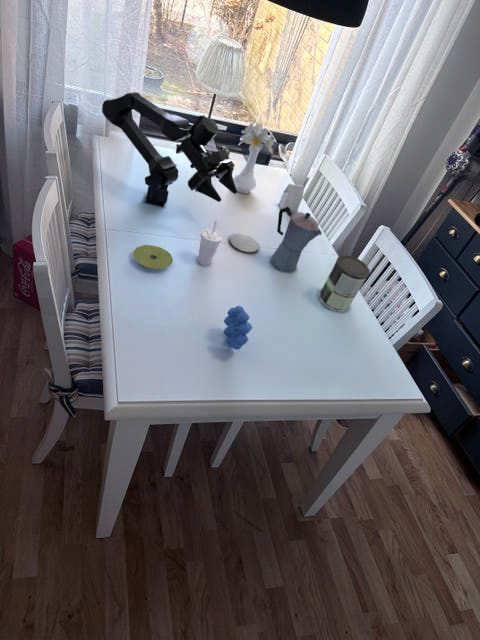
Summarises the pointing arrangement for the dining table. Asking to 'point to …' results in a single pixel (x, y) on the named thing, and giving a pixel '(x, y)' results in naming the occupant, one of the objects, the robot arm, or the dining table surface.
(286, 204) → the white carton
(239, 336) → the grapes
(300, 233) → the moka pot
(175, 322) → the dining table surface
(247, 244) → the disc
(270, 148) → the flower vase
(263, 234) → the dining table surface
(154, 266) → the green grainy disc
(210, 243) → the smoothie
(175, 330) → the dining table surface
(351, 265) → the coffee can
